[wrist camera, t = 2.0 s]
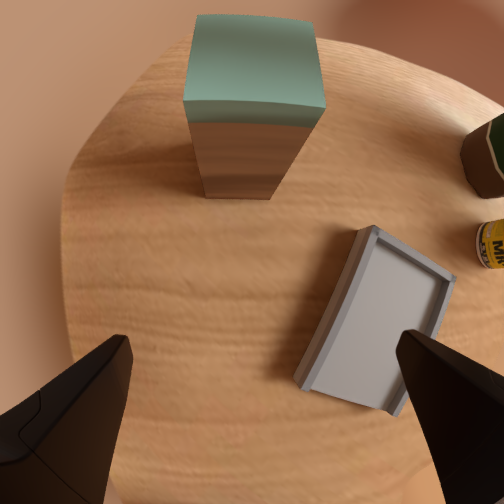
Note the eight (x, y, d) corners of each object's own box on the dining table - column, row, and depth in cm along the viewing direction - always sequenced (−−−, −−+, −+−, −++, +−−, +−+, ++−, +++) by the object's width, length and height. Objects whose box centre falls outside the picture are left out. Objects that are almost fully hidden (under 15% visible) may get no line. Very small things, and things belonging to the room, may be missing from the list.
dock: (382, 405, 20) (397, 417, 18) (292, 377, 20) (300, 389, 17) (438, 277, 22) (456, 277, 19) (358, 229, 21) (373, 224, 19)
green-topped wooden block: (269, 199, 21) (326, 108, 8) (206, 198, 20) (183, 100, 8) (268, 143, 21) (312, 22, 9) (208, 141, 21) (197, 14, 8)
